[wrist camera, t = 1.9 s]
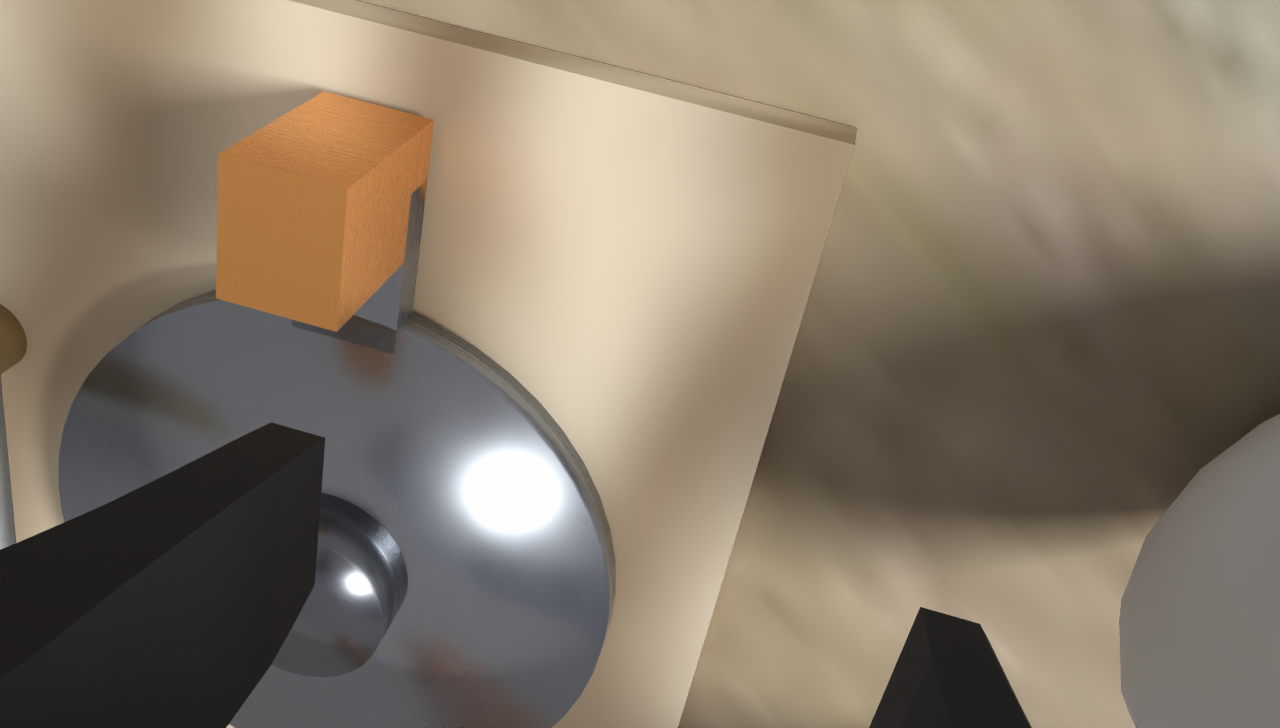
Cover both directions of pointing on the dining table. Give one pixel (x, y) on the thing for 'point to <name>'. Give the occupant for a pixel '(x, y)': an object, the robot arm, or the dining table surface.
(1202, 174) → the dining table surface
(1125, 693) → the donut
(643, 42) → the dining table surface
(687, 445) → the board
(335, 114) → the flange plate
